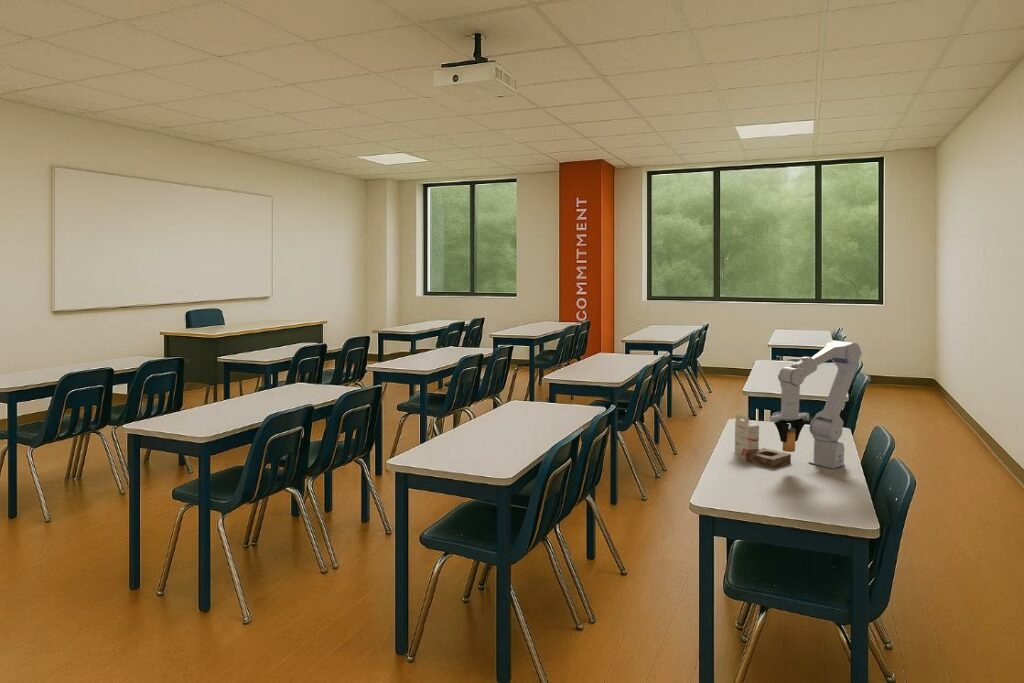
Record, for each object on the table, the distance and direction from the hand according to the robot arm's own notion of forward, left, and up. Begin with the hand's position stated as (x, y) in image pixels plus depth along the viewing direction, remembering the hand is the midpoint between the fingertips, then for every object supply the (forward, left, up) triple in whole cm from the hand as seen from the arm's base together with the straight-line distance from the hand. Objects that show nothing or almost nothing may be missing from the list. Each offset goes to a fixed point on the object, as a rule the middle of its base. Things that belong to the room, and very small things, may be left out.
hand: (788, 441), depth 245 cm
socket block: (+10, -4, -10) cm, 15 cm away
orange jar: (0, 0, -3) cm, 3 cm away
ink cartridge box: (+21, -7, -10) cm, 24 cm away
